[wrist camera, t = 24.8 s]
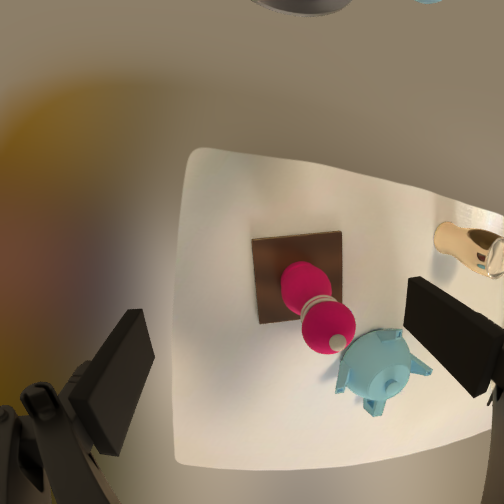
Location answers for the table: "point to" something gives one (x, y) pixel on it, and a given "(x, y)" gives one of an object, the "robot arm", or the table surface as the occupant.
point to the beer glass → (472, 248)
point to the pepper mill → (317, 308)
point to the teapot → (378, 368)
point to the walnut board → (284, 254)
